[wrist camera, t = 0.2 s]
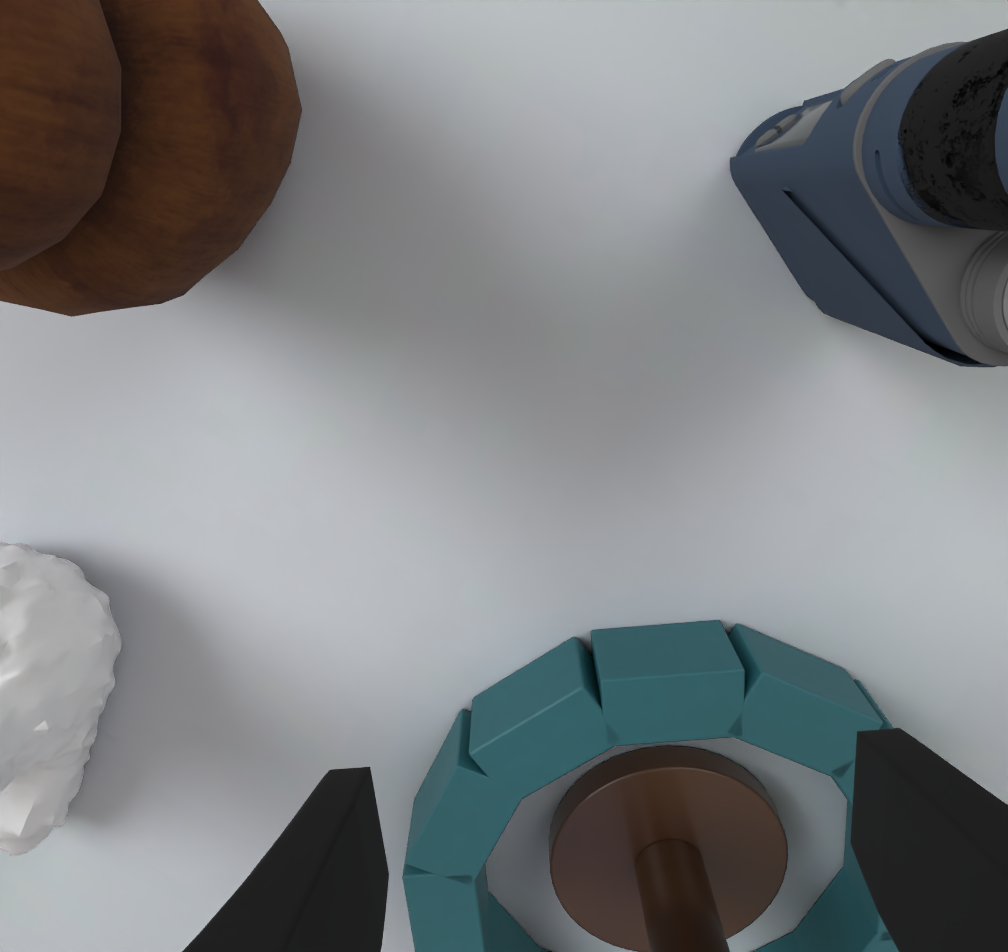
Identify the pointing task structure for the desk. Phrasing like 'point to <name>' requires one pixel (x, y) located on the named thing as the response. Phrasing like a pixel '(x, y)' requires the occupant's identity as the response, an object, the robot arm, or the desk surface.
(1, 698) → the white creature statuette
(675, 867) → the hanging post
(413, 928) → the hoop
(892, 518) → the desk surface
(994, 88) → the vaping device
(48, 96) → the wooden figurine
